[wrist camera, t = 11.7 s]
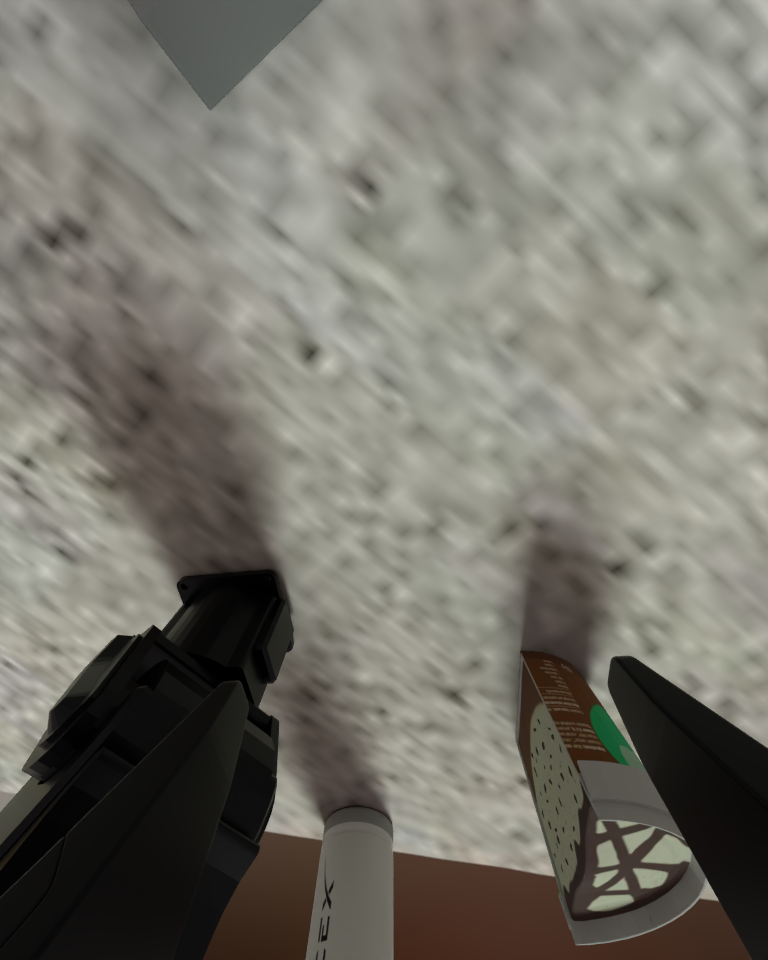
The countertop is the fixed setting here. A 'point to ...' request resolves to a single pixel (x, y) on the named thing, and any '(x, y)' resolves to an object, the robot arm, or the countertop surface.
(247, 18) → the cover
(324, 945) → the travel mug
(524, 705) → the food container
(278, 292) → the countertop surface
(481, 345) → the countertop surface
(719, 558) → the countertop surface
